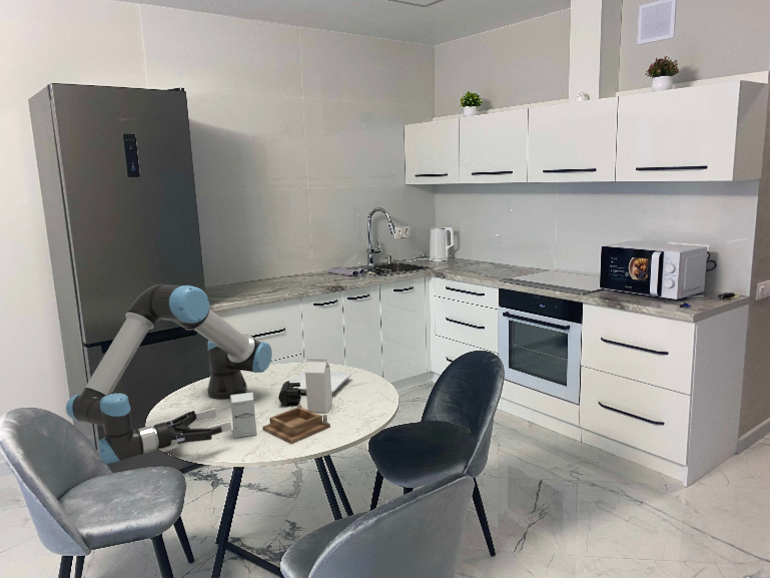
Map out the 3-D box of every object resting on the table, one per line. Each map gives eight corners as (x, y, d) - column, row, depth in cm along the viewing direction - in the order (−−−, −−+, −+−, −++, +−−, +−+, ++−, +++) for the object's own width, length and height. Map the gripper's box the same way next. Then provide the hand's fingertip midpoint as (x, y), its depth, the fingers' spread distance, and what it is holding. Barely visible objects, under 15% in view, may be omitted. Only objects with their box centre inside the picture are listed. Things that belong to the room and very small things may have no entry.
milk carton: (326, 413, 207) (323, 362, 204) (307, 412, 209) (304, 361, 205) (332, 405, 214) (329, 355, 210) (314, 404, 216) (310, 355, 212)
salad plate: (333, 399, 221) (332, 390, 220) (282, 395, 227) (282, 386, 226) (353, 380, 240) (352, 372, 240) (306, 376, 247) (305, 369, 246)
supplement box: (234, 439, 190) (230, 402, 187) (233, 429, 197) (229, 394, 194) (257, 435, 192) (254, 399, 189) (255, 426, 199) (252, 391, 196)
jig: (262, 429, 195) (261, 418, 195) (301, 414, 207) (300, 403, 206) (291, 443, 184) (290, 431, 184) (330, 427, 195) (329, 415, 195)
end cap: (282, 397, 224) (281, 380, 223) (301, 396, 224) (300, 379, 223) (279, 407, 214) (277, 390, 213) (298, 406, 214) (297, 389, 213)
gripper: (146, 435, 187) (211, 417, 199) (168, 464, 167) (238, 442, 179) (143, 413, 186) (209, 396, 198) (165, 440, 166) (236, 420, 178)
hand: (223, 418), depth 189 cm, fingers open, 13 cm apart
